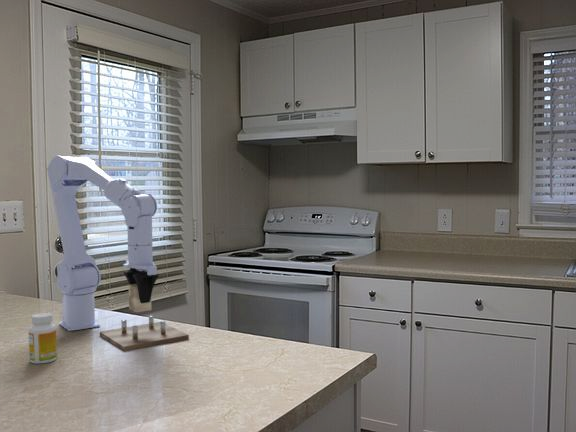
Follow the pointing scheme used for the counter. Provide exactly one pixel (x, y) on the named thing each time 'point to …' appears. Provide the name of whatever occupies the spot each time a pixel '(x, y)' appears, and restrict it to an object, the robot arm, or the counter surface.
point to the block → (137, 300)
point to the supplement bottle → (42, 339)
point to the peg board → (143, 335)
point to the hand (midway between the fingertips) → (141, 301)
